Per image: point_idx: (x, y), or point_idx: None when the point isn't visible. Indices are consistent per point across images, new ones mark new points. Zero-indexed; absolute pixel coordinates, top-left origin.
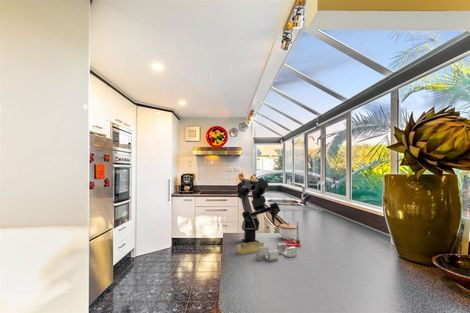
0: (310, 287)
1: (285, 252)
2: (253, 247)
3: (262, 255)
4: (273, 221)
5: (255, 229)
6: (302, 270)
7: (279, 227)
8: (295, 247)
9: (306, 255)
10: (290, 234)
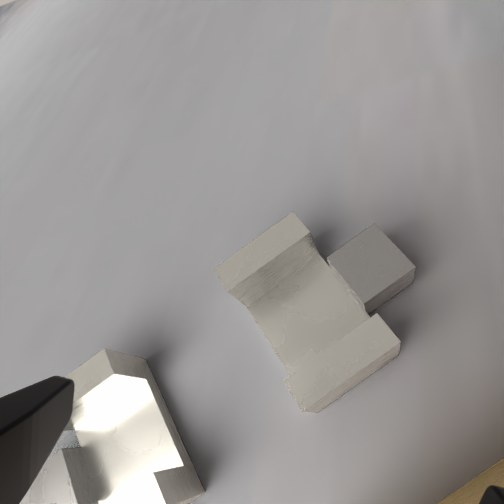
0: (186, 17)
1: (138, 431)
2: (462, 500)
3: (361, 234)
4: (12, 400)
5: (493, 486)
6: (149, 158)
7: None
8: None
9: None
10: None
